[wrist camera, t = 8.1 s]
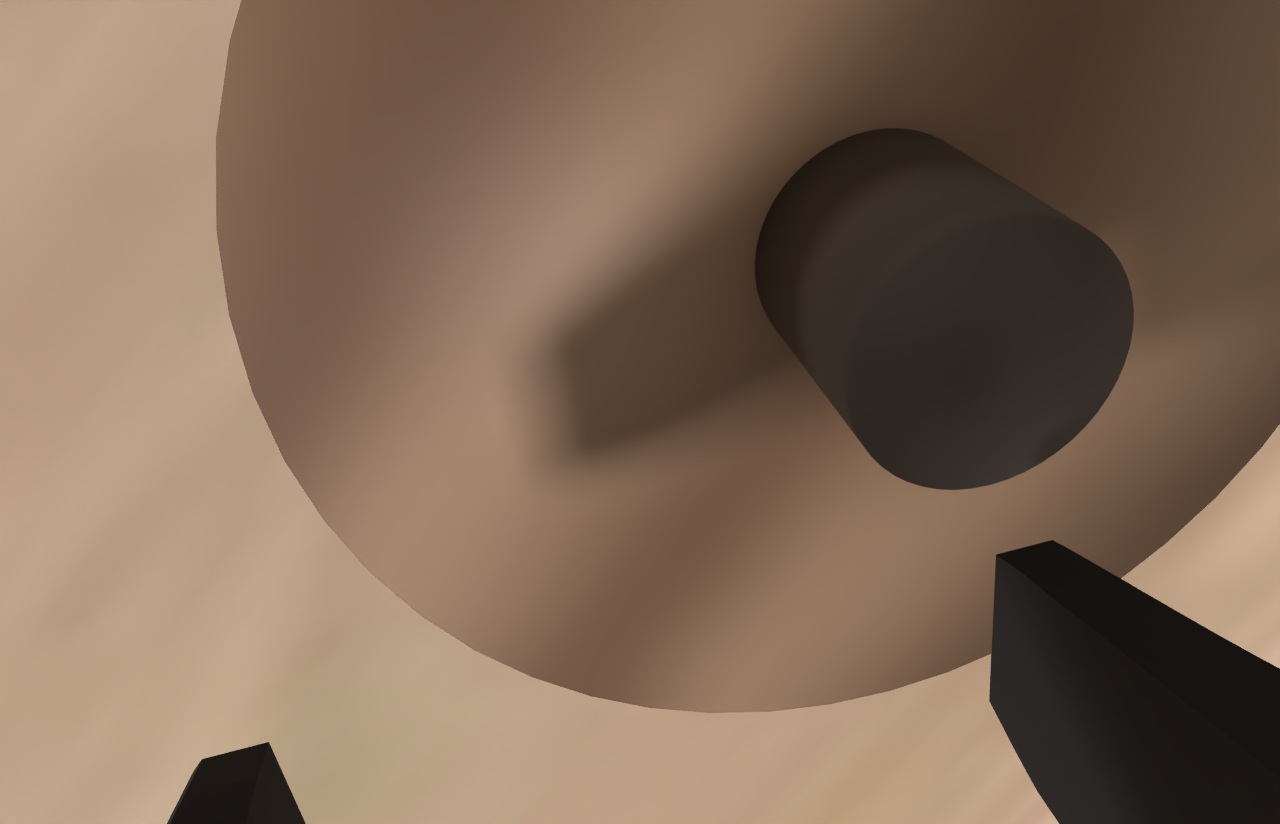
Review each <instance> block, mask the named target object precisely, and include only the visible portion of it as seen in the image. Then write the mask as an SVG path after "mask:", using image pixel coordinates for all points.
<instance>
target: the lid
mask: <svg viewBox="0 0 1280 824" xmlns="http://www.w3.org/2000/svg"><path fill="white" fill-rule="evenodd" d="M216 215H217V236H218V243H219V250H220V256H221V263H222V270H223V276H224V283H225V290H226V297H227V303H228V310H229V316H230V319H231V323H232V326H233V329H234V332H235V336H236V339H237V342H238V346H239V349H240V352H241V356H242V359H243V362H244V366H245V369H246V372H247V375H248V379H249V382H250V385H251V389H252V392H253V394H254V396H255V399H256V401H257V403H258V405H259V407H260V409H261V411H262V413H263V416H264V418H265V420H266V422H267V424H268V426H269V428H270V430H271V433H272V435H273V437H274V439H275V441H276V443H277V445H278V447H279V450H280V452H281V454H282V456H283V458H284V460H285V462H286V464H287V465H288V467H289V468H290V470H291V471H292V473H293V474H294V476H295V477H296V479H297V480H298V482H299V483H300V485H301V486H302V488H303V489H304V491H305V492H306V494H307V495H308V497H309V498H310V500H311V501H312V503H313V504H314V506H315V507H316V509H317V510H318V512H319V514H320V515H321V517H322V518H323V520H324V521H325V522H326V524H327V525H328V526H329V527H330V528H331V529H332V530H333V531H334V532H335V534H336V535H337V536H338V537H339V538H340V539H341V540H342V541H343V543H344V544H345V545H346V546H347V547H348V548H349V549H350V550H351V552H352V553H353V554H354V555H355V556H356V557H357V558H358V559H359V561H360V562H361V563H362V564H363V565H364V566H365V567H366V568H367V570H368V571H369V572H370V573H371V574H372V575H373V576H375V577H376V578H377V579H378V580H379V581H381V582H382V583H383V584H384V585H385V586H386V587H388V588H389V589H390V590H391V591H392V592H394V593H395V594H396V595H397V596H398V597H399V598H401V599H402V600H403V601H404V602H405V603H407V604H408V605H409V606H410V607H411V608H412V609H414V610H415V611H416V612H417V613H418V614H420V615H421V616H422V617H424V618H425V619H427V620H428V621H430V622H431V623H433V624H435V625H436V626H438V627H439V628H441V629H442V630H444V631H446V632H447V633H449V634H450V635H452V636H453V637H455V638H457V639H458V640H460V641H461V642H463V643H464V644H466V645H468V646H469V647H471V648H472V649H474V650H475V651H478V652H480V653H482V654H484V655H486V656H488V657H490V658H492V659H495V660H497V661H499V662H501V663H503V664H505V665H507V666H510V667H512V668H514V669H516V670H518V671H520V672H522V673H525V674H527V675H529V676H531V677H534V678H537V679H540V680H543V681H546V682H549V683H552V684H555V685H558V686H561V687H564V688H567V689H571V690H574V691H577V692H580V693H583V694H586V695H589V696H593V697H598V698H603V699H608V700H613V701H618V702H623V703H628V704H633V705H638V706H644V707H649V708H659V709H670V710H682V711H694V712H706V713H725V712H770V711H778V710H787V709H795V708H803V707H811V706H819V705H827V704H833V703H837V702H842V701H846V700H851V699H855V698H860V697H864V696H869V695H873V694H878V693H882V692H887V691H891V690H894V689H897V688H900V687H903V686H906V685H909V684H912V683H915V682H918V681H922V680H925V679H928V678H931V677H934V676H937V675H940V674H943V673H946V672H949V671H951V670H954V669H956V668H958V667H961V666H963V665H965V664H968V663H970V662H973V661H975V660H977V659H980V658H982V657H984V656H987V655H989V654H991V653H992V631H993V609H994V586H995V564H996V554H1000V553H1004V552H1008V551H1012V550H1015V549H1019V548H1023V547H1027V546H1031V545H1035V544H1039V543H1043V542H1046V541H1050V540H1054V541H1055V542H1057V543H1059V544H1061V545H1063V546H1065V547H1066V548H1068V549H1070V550H1072V551H1074V552H1075V553H1077V554H1079V555H1081V556H1082V557H1084V558H1086V559H1088V560H1089V561H1091V562H1093V563H1095V564H1096V565H1098V566H1100V567H1101V568H1103V569H1105V570H1107V571H1108V572H1110V573H1112V574H1113V575H1115V576H1117V577H1119V578H1120V579H1121V578H1122V577H1123V576H1124V575H1126V574H1127V573H1128V572H1130V571H1131V570H1132V569H1133V568H1135V567H1136V566H1137V565H1139V564H1140V563H1141V562H1142V561H1144V560H1145V559H1146V558H1148V557H1149V556H1150V555H1151V554H1153V553H1154V552H1155V551H1157V550H1158V549H1159V548H1160V547H1162V546H1163V545H1164V544H1166V543H1167V542H1168V541H1169V540H1170V539H1171V538H1172V537H1173V536H1174V535H1175V534H1177V533H1178V532H1179V531H1180V530H1181V529H1182V528H1183V527H1184V526H1185V525H1186V524H1187V523H1189V522H1190V521H1191V520H1192V519H1193V518H1194V517H1195V516H1196V515H1197V514H1198V513H1199V512H1200V511H1202V510H1203V509H1204V508H1205V507H1206V506H1207V505H1208V504H1209V503H1210V502H1211V501H1212V500H1213V499H1215V498H1216V497H1217V495H1218V494H1219V493H1220V492H1221V491H1222V490H1223V489H1224V488H1225V487H1226V486H1227V485H1228V483H1229V482H1230V481H1231V480H1232V479H1233V478H1234V477H1235V476H1236V475H1237V474H1238V473H1239V471H1240V470H1241V469H1242V468H1243V467H1244V466H1245V465H1246V464H1247V463H1248V462H1249V461H1250V459H1251V458H1252V457H1253V456H1254V455H1255V454H1256V453H1257V452H1258V451H1259V450H1260V449H1261V447H1262V446H1263V445H1264V443H1265V442H1266V441H1267V440H1268V438H1269V437H1270V436H1271V434H1272V433H1273V432H1274V430H1275V429H1276V428H1277V427H1278V425H1279V424H1280V0H242V1H241V4H240V8H239V11H238V15H237V18H236V21H235V25H234V28H233V32H232V35H231V39H230V44H229V51H228V58H227V65H226V72H225V79H224V86H223V93H222V100H221V108H220V115H219V122H218V129H217V136H216Z"/></svg>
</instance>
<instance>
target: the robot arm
mask: <svg viewBox="0 0 1280 824" xmlns="http://www.w3.org/2000/svg"><path fill="white" fill-rule="evenodd" d="M989 701H990V703H991V705H992V707H993V709H994V710H995V712H996V714H997V716H998V718H999V720H1000V722H1001V724H1002V726H1003V728H1004V730H1005V732H1006V734H1007V736H1008V738H1009V740H1010V742H1011V744H1012V746H1013V747H1014V749H1015V751H1016V753H1017V755H1018V757H1019V759H1020V760H1021V762H1022V764H1023V766H1024V768H1025V769H1026V771H1027V773H1028V775H1029V777H1030V779H1031V780H1032V782H1033V784H1034V786H1035V788H1036V790H1037V791H1038V793H1039V794H1040V796H1041V797H1042V799H1043V800H1044V802H1045V803H1046V805H1047V806H1048V808H1049V809H1050V811H1051V812H1052V814H1053V815H1054V816H1055V818H1056V819H1057V821H1058V822H1059V824H1280V669H1279V668H1277V667H1275V666H1274V665H1272V664H1270V663H1268V662H1266V661H1264V660H1262V659H1261V658H1259V657H1257V656H1255V655H1253V654H1251V653H1250V652H1248V651H1246V650H1244V649H1242V648H1241V647H1239V646H1237V645H1235V644H1233V643H1232V642H1230V641H1228V640H1226V639H1224V638H1223V637H1221V636H1219V635H1217V634H1215V633H1214V632H1212V631H1210V630H1208V629H1207V628H1205V627H1203V626H1201V625H1200V624H1198V623H1196V622H1194V621H1193V620H1191V619H1189V618H1187V617H1186V616H1184V615H1182V614H1180V613H1179V612H1177V611H1175V610H1173V609H1172V608H1170V607H1168V606H1167V605H1165V604H1163V603H1161V602H1160V601H1158V600H1156V599H1155V598H1153V597H1151V596H1149V595H1148V594H1146V593H1144V592H1142V591H1141V590H1139V589H1137V588H1136V587H1134V586H1132V585H1131V584H1129V583H1127V582H1125V581H1124V580H1122V579H1120V578H1119V577H1117V576H1115V575H1113V574H1112V573H1110V572H1108V571H1107V570H1105V569H1103V568H1101V567H1100V566H1098V565H1096V564H1095V563H1093V562H1091V561H1089V560H1088V559H1086V558H1084V557H1082V556H1081V555H1079V554H1077V553H1075V552H1074V551H1072V550H1070V549H1068V548H1066V547H1065V546H1063V545H1061V544H1059V543H1057V542H1055V541H1054V540H1050V541H1046V542H1043V543H1039V544H1035V545H1031V546H1027V547H1023V548H1019V549H1015V550H1012V551H1008V552H1004V553H1000V554H996V564H995V586H994V609H993V631H992V654H991V676H990V699H989ZM167 824H305V821H304V819H303V817H302V815H301V813H300V810H299V808H298V806H297V804H296V801H295V799H294V797H293V795H292V793H291V790H290V788H289V786H288V784H287V782H286V779H285V777H284V775H283V773H282V770H281V768H280V766H279V764H278V762H277V759H276V757H275V755H274V753H273V750H272V748H271V746H270V744H269V742H267V743H263V744H260V745H256V746H252V747H248V748H244V749H240V750H236V751H232V752H229V753H225V754H221V755H217V756H213V757H209V758H205V759H202V760H201V762H200V763H199V764H198V766H197V767H196V769H195V770H194V772H193V774H192V776H191V778H190V779H189V781H188V783H187V785H186V787H185V789H184V791H183V793H182V795H181V797H180V799H179V801H178V803H177V805H176V807H175V809H174V811H173V813H172V815H171V817H170V819H169V821H168V823H167Z"/></svg>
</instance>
